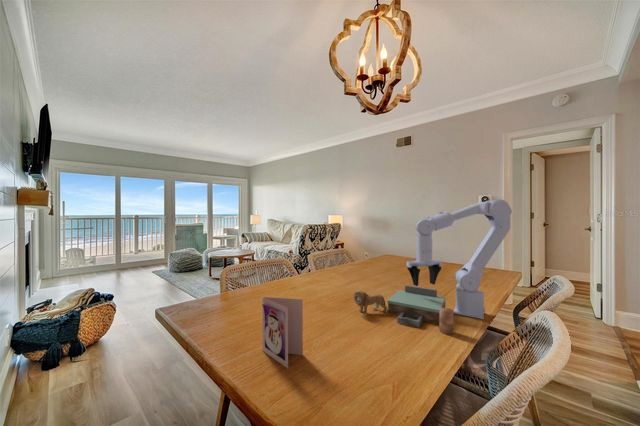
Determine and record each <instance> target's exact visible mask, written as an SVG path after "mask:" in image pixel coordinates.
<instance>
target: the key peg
mask: <svg viewBox="0 0 640 426" xmlns="http://www.w3.org/2000/svg"><path fill="white" fill-rule="evenodd" d="M438 325H439V332H440V333H441V334H443V335H447V336H451V335H453V334H454V310H453V309H452V308H448V307H445V308H440V323H439V324H438Z"/></svg>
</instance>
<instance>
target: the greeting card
mask: <svg viewBox="0 0 640 426" xmlns="http://www.w3.org/2000/svg"><path fill="white" fill-rule="evenodd" d="M303 301H304V300H303V298H302V299H301V298H286V297H285V298H284V297H269V296H262V303H261V304H262V352H264V353H265V354H267V355H268V356H270V357H271V358H272V359H273V360H275V361H277V362H278V363H279V364H281V365H282V366H284V367H285V368H286V369H289V354H292V355H299V356H303V355H304V354H303V351H304V349H303V348H304V347H303V346H304V344H303V342H304V340H303V338H304V335H303V331H304V329H303V325H304V324H303V323H304V322H303V320H304V318H303V317H304V316H303V315H304V314H303V309H304V308H303V307H304V306H303Z"/></svg>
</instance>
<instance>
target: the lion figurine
mask: <svg viewBox="0 0 640 426" xmlns="http://www.w3.org/2000/svg"><path fill="white" fill-rule="evenodd" d="M352 296H353V301H354V303H355V304H356V305H357V306H358V307H359V313H363V316H364V315H365V316H366V315H367V313H368V306H373V305H374V304H375V307H374V308H373V309H372V310H373V311H377V310H378V309H379V308H380V306H381V308H383V310H382V312H383V313H387V309H388V306H386V305H387V304H386V300H385V298H384V296H383V295H382V294H380V293H375V294H370V295H369V294H367V293H366V292H365V291H362V290H360V289H358V290H355V291H354V292H353V295H352Z"/></svg>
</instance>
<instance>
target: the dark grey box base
mask: <svg viewBox="0 0 640 426" xmlns="http://www.w3.org/2000/svg"><path fill="white" fill-rule="evenodd" d="M442 308H446V301H445V302H444V305H443V307H442ZM387 309H388V310H387V311H388V312H387V313H388V314H391V315H396V316H397V318H396V319H397V322H396V323H397V324H400V325H404V326H409V327H414V328H418V329H420V328H421V326H422V324H423V322H424V321H425V322H429V323H433V324H438V325H439V323H440V313H437V312H432V311H426V310H421V309H416V308H411V307H406V306H401V305H396V304H390V303H387Z"/></svg>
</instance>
